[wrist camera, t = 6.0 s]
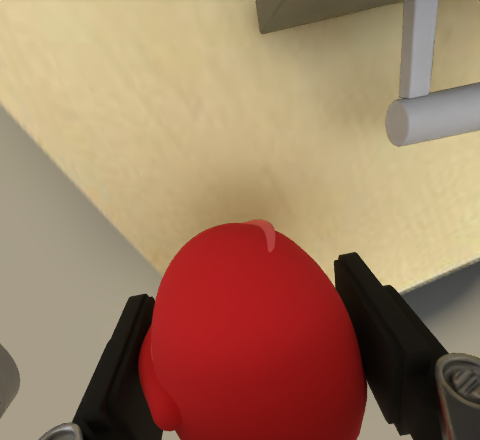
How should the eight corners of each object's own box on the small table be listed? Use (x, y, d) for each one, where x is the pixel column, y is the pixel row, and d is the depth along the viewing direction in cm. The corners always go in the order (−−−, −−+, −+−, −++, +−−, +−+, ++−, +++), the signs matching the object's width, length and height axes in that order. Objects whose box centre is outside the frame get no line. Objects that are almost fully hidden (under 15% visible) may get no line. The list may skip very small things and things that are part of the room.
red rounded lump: (124, 233, 10) (2, 416, 4) (286, 169, 9) (378, 293, 4) (216, 370, 13) (212, 568, 8) (339, 331, 12) (428, 519, 7)
